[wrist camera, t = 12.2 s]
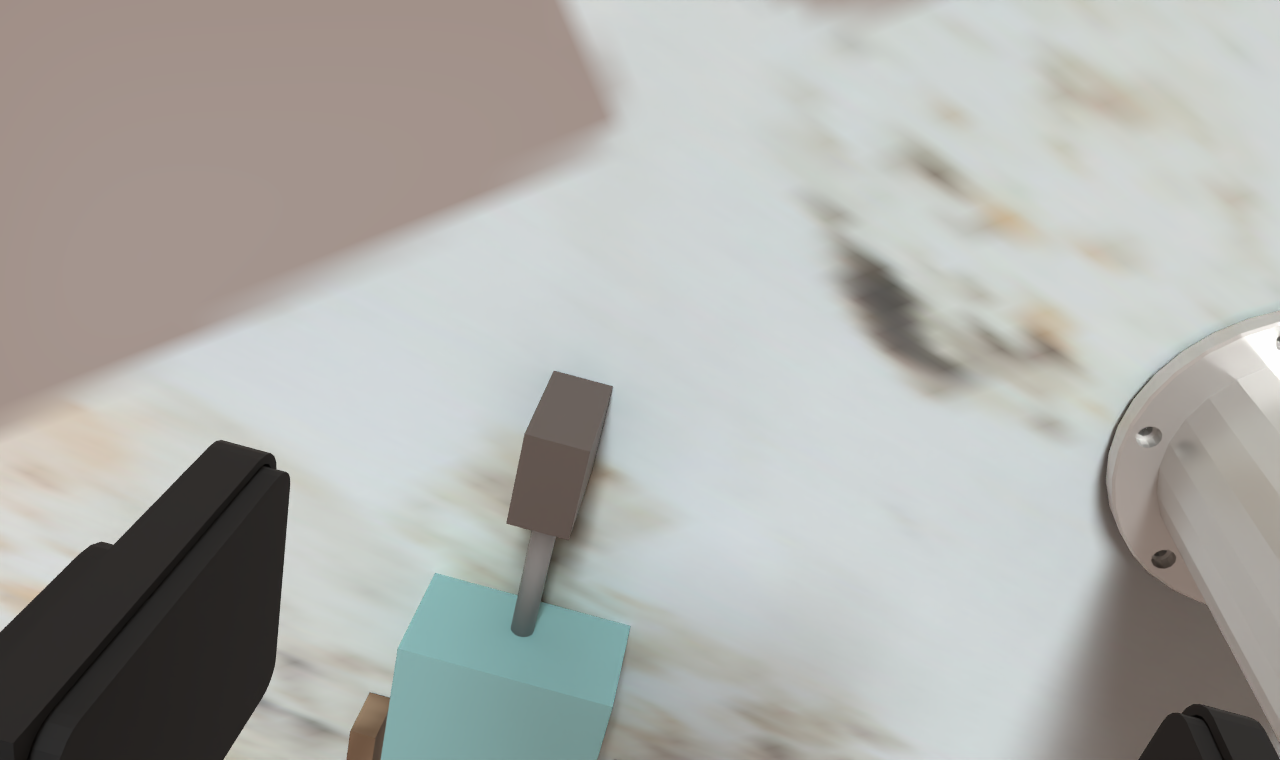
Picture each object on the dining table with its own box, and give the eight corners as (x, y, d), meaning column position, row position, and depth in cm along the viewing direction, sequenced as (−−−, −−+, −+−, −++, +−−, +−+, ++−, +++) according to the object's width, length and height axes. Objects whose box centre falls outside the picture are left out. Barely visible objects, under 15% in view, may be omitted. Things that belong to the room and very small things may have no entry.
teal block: (693, 408, 42) (680, 476, 38) (598, 734, 51) (578, 821, 46) (473, 349, 42) (434, 410, 38) (416, 685, 51) (379, 766, 46)
